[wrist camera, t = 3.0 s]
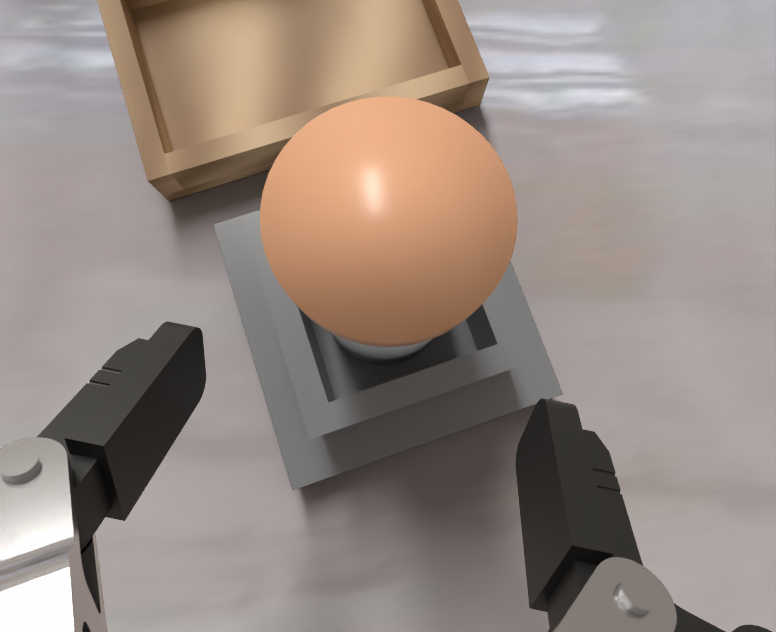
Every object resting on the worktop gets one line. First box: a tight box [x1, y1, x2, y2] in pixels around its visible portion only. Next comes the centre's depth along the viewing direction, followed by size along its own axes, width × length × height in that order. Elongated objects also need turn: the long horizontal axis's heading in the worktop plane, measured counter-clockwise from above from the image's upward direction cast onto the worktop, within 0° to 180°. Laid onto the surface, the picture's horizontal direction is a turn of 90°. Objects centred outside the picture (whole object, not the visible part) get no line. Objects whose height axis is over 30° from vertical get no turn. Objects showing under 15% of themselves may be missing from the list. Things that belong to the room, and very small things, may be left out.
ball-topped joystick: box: [260, 97, 518, 365], centre depth 16 cm, size 6×6×11 cm
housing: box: [213, 210, 563, 491], centre depth 21 cm, size 12×12×5 cm
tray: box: [97, 0, 489, 201], centre depth 24 cm, size 16×11×2 cm
